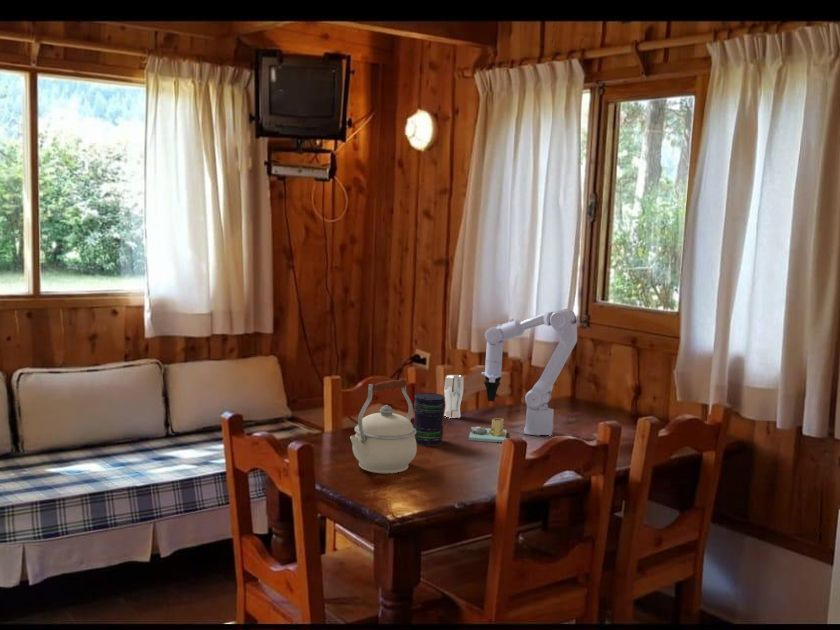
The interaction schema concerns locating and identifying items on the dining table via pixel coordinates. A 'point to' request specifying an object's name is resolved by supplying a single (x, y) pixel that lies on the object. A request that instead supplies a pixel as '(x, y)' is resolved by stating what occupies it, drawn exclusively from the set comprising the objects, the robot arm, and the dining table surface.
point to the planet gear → (497, 427)
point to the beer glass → (453, 395)
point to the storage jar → (429, 418)
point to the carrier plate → (484, 435)
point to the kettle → (385, 435)
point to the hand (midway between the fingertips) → (491, 398)
